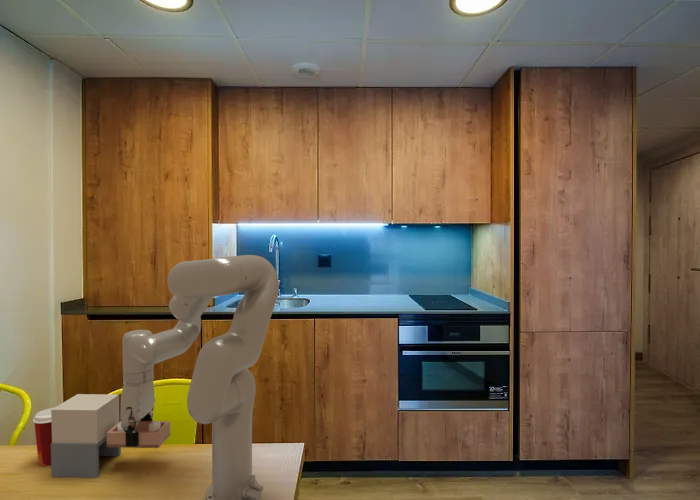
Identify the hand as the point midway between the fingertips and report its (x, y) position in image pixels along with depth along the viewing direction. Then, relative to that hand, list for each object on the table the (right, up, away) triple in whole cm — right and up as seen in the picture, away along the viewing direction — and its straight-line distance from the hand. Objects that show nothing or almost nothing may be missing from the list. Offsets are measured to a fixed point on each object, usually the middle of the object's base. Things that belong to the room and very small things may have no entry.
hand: (139, 438), depth 114 cm
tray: (0, -1, 0) cm, 1 cm away
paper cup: (-26, -8, +2) cm, 28 cm away
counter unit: (-15, -8, 0) cm, 16 cm away
